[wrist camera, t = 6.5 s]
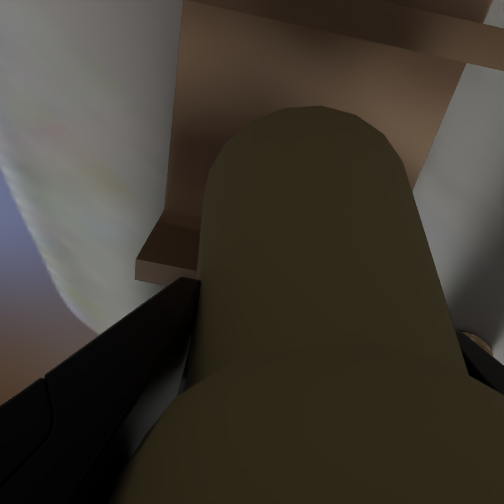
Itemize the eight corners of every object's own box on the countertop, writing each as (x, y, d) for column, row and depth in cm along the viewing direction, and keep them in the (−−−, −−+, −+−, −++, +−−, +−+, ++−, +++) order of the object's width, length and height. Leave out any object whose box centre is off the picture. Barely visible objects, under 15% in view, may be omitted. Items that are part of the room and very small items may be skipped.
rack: (374, 260, 22) (398, 331, 17) (167, 218, 22) (134, 279, 17) (643, -392, 11) (906, -681, 6) (237, -504, 11) (198, -900, 6)
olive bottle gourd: (201, 283, 14) (30, 860, 5) (205, 94, 11) (-299, 678, 1) (381, 301, 14) (586, 930, 4) (437, 117, 11) (1491, 891, 1)
